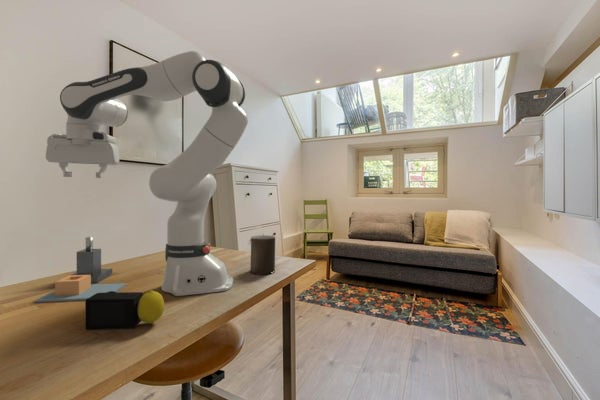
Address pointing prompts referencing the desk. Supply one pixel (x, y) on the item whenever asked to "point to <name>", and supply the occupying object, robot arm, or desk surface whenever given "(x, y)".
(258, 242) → the pillar candle
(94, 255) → the stand
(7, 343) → the desk surface
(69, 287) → the collar
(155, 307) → the lemon
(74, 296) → the mat
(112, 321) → the black rectangular box
